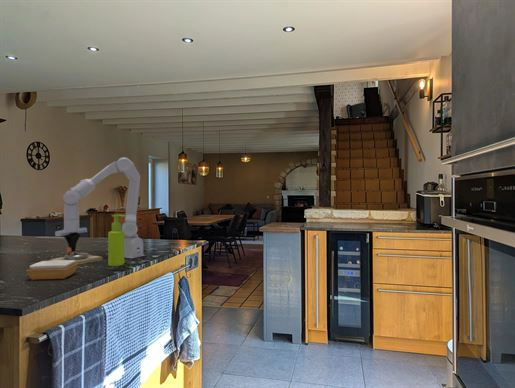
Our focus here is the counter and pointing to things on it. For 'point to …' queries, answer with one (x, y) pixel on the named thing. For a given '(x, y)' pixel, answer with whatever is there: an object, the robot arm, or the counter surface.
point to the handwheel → (75, 254)
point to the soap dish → (52, 269)
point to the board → (81, 261)
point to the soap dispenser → (116, 243)
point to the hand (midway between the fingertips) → (72, 251)
